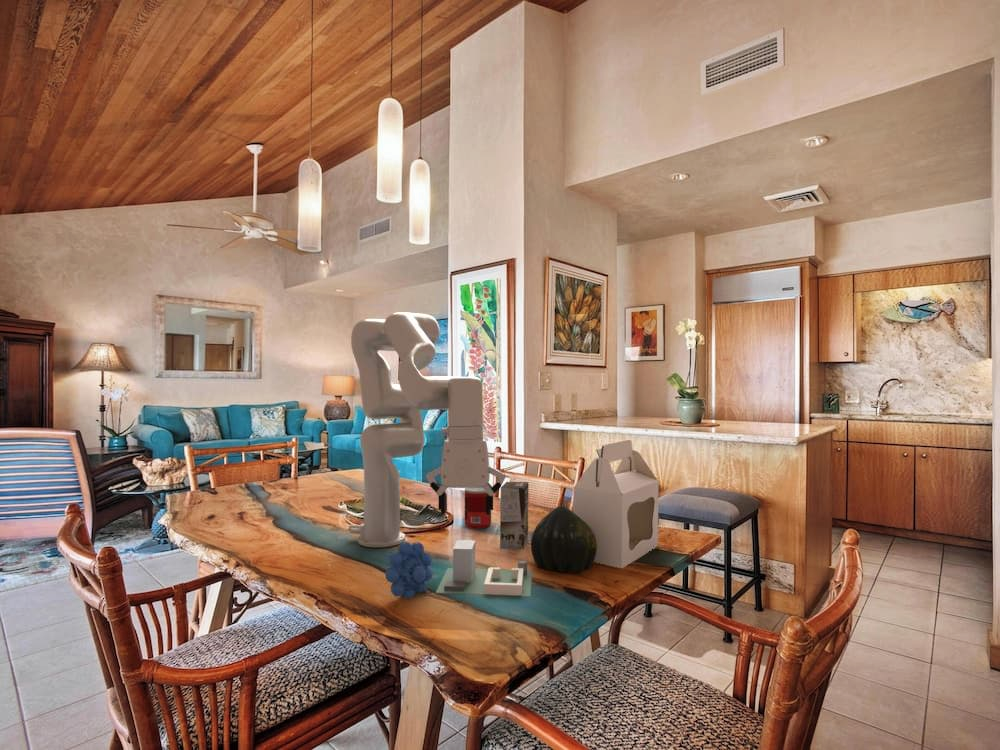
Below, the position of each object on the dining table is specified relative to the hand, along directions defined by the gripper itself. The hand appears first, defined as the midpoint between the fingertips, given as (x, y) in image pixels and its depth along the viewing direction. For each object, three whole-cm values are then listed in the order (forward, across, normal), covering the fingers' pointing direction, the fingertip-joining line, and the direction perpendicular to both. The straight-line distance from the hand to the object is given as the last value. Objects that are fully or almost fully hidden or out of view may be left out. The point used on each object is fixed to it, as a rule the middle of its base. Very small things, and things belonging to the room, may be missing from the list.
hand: (466, 513), depth 116 cm
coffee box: (+15, +9, +28) cm, 33 cm away
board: (+15, +4, -1) cm, 16 cm away
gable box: (+16, +35, +25) cm, 46 cm away
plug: (+14, 0, +1) cm, 14 cm away
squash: (+16, +21, +11) cm, 28 cm away
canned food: (+15, -3, +46) cm, 48 cm away
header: (+14, +8, -3) cm, 17 cm away
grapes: (+15, -9, -10) cm, 21 cm away
